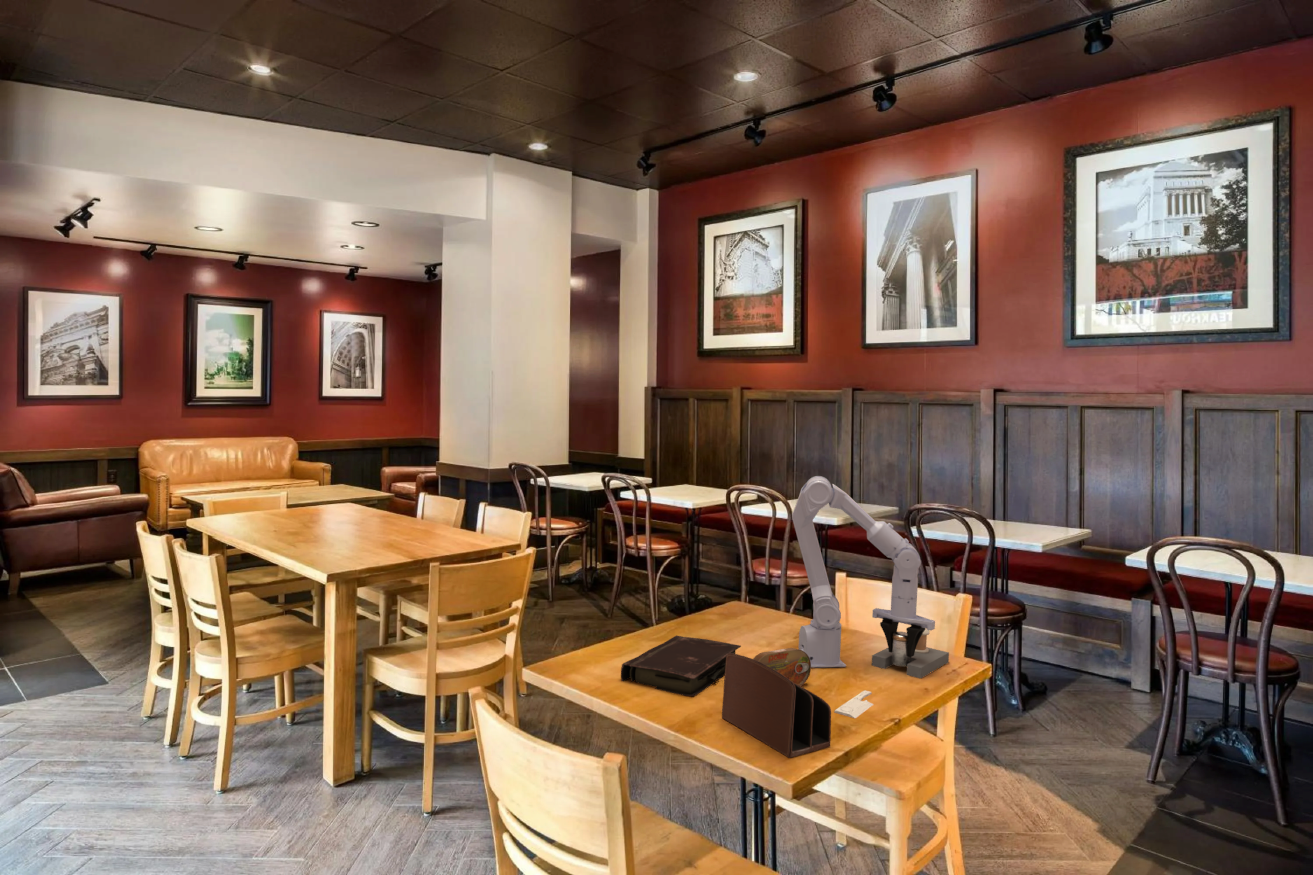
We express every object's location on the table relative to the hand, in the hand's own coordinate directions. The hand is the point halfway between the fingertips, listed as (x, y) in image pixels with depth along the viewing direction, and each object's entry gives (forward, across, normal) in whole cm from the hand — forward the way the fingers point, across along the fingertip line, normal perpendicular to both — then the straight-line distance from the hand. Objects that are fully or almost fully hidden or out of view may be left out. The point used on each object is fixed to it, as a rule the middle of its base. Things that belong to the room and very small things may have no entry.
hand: (901, 653), depth 190 cm
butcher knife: (+4, -4, +27) cm, 28 cm away
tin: (+4, +13, +32) cm, 34 cm away
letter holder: (+4, +1, +52) cm, 52 cm away
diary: (+4, +33, +39) cm, 52 cm away
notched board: (+4, 0, -5) cm, 6 cm away
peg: (+2, 0, 0) cm, 2 cm away
